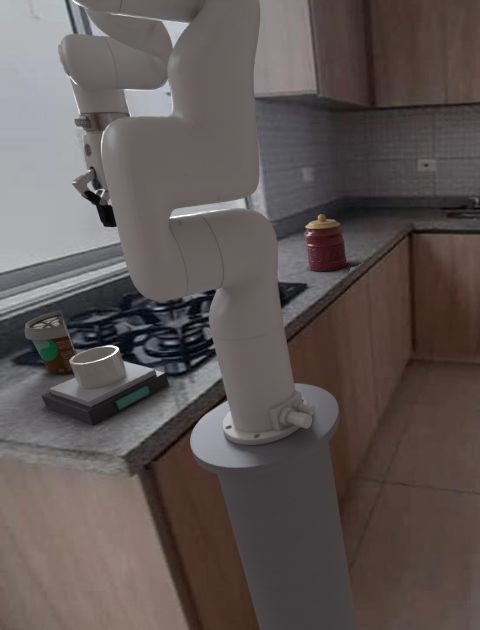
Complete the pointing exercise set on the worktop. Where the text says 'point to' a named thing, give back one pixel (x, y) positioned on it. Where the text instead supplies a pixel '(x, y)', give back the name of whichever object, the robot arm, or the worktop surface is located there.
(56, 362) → the food container
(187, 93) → the robot arm
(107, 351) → the bowl
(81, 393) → the scale
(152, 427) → the worktop surface
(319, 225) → the kitchen canister
